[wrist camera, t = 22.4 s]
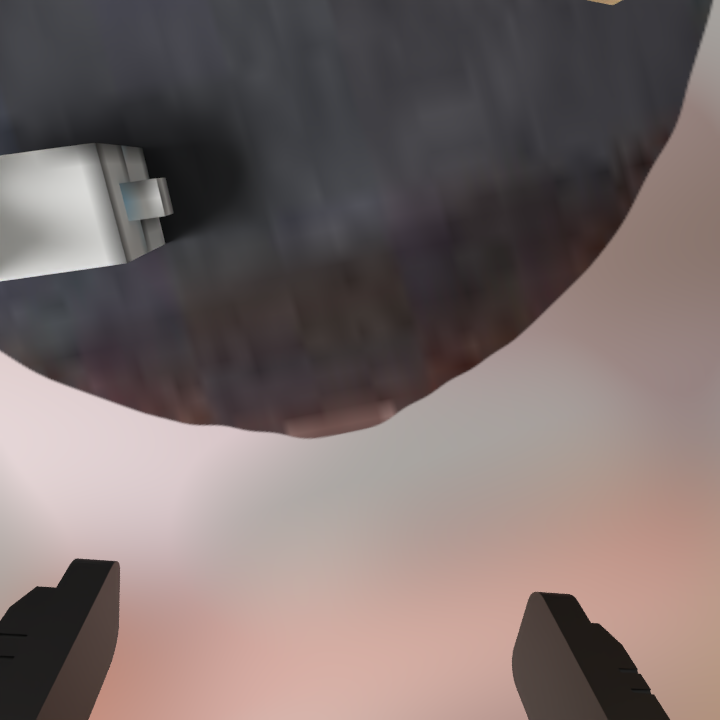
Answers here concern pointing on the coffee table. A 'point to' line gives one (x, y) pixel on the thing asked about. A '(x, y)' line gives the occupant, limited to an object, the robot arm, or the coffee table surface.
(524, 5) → the coffee table surface
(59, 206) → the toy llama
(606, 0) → the wooden slat
